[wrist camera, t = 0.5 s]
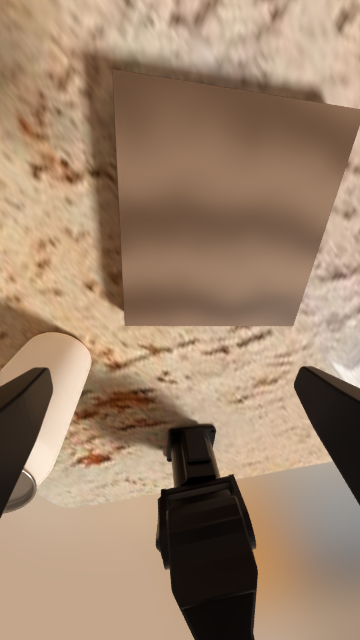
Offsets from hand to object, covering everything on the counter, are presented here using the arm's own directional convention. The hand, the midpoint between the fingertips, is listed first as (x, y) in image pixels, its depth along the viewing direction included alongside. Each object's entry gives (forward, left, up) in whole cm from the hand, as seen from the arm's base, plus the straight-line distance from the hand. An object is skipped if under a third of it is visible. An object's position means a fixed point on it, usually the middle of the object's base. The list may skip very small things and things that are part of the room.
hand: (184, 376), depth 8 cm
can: (-9, +10, -14) cm, 20 cm away
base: (+4, -5, -14) cm, 15 cm away
